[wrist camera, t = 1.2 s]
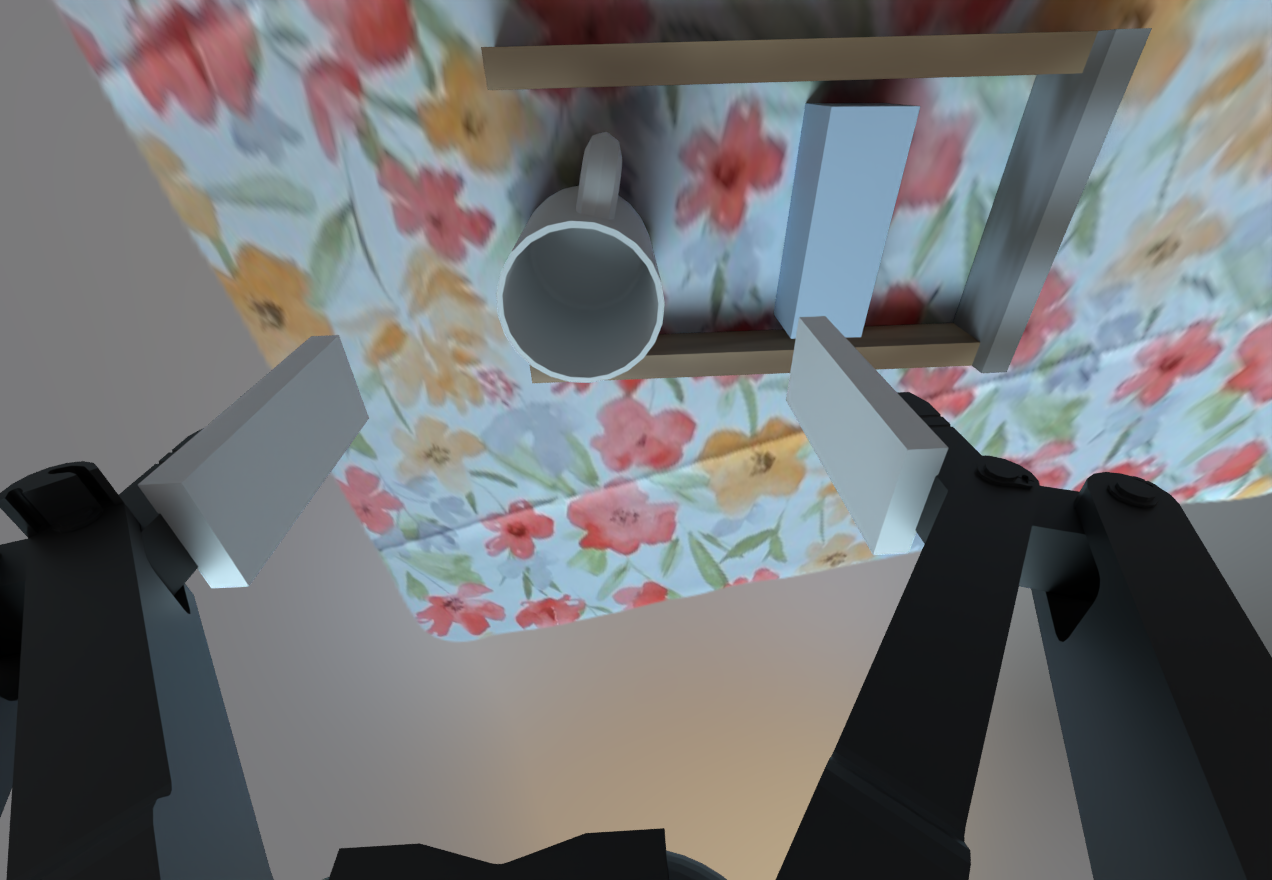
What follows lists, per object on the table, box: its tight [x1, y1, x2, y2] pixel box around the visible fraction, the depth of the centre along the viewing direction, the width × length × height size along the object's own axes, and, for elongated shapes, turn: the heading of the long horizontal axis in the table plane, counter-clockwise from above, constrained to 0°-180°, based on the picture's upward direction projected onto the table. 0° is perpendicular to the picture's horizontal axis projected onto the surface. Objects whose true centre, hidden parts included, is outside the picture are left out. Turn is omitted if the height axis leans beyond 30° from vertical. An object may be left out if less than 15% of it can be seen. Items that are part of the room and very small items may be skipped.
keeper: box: [774, 103, 920, 339], centre depth 28 cm, size 11×4×4 cm, turn 0°
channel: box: [481, 28, 1152, 383], centre depth 28 cm, size 16×28×4 cm, turn 91°
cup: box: [496, 132, 665, 383], centre depth 26 cm, size 7×10×9 cm
